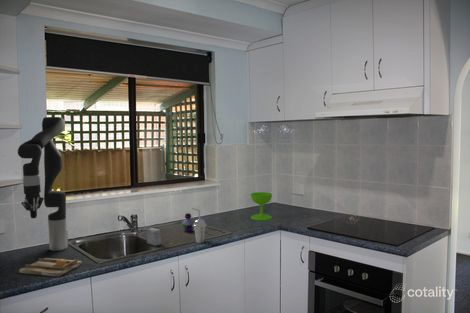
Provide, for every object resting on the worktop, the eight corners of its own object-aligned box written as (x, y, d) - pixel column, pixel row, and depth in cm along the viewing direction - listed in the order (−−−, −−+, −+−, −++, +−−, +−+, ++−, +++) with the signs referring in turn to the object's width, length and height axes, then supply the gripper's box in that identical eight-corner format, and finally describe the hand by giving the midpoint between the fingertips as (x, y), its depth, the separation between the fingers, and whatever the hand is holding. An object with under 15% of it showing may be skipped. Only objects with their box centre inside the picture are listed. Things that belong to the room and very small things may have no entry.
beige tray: (45, 260, 203) (44, 254, 203) (81, 264, 197) (81, 257, 197) (19, 272, 186) (19, 265, 186) (58, 276, 181) (58, 269, 181)
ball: (70, 262, 192) (65, 269, 193) (63, 255, 193) (58, 262, 194) (63, 265, 187) (58, 273, 188) (56, 258, 188) (51, 266, 189)
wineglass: (261, 214, 304) (261, 191, 303) (276, 217, 292) (276, 194, 291) (246, 217, 294) (246, 194, 293) (261, 221, 282) (260, 196, 281)
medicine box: (161, 244, 229) (160, 229, 229) (154, 246, 226) (154, 231, 226) (153, 241, 235) (152, 227, 234) (146, 243, 231) (146, 229, 231)
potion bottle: (180, 233, 253) (179, 214, 252) (183, 229, 262) (183, 212, 261) (193, 233, 252) (192, 215, 251) (196, 229, 261) (195, 212, 260)
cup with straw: (197, 244, 228) (196, 210, 226) (189, 241, 235) (189, 208, 233) (209, 242, 233) (209, 208, 231) (201, 238, 240) (201, 206, 238)
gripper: (35, 181, 203) (37, 214, 204) (15, 186, 190) (17, 220, 192) (47, 182, 201) (49, 215, 202) (28, 186, 188) (30, 221, 190)
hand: (33, 217), depth 197 cm, fingers closed
